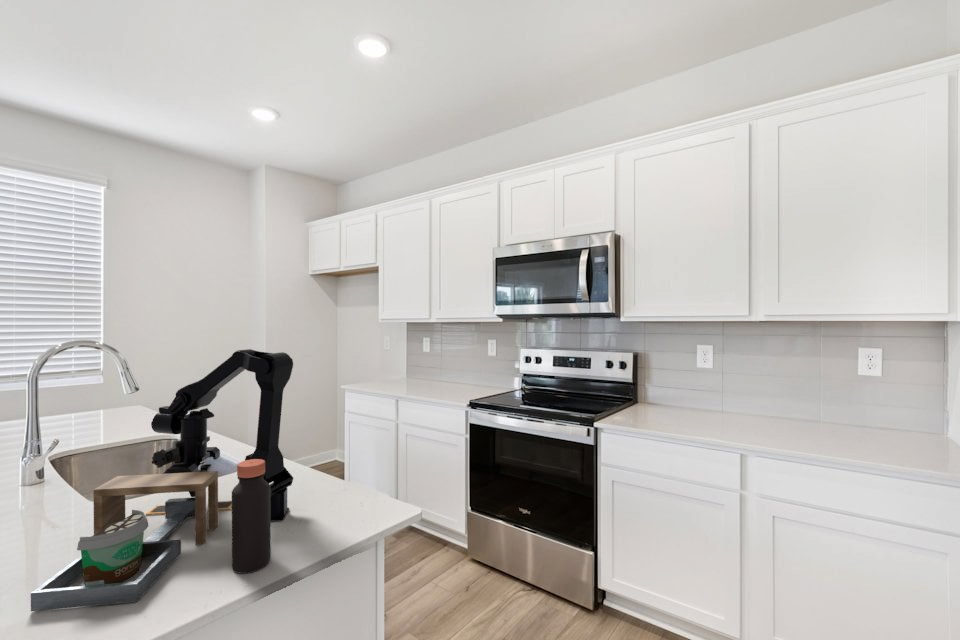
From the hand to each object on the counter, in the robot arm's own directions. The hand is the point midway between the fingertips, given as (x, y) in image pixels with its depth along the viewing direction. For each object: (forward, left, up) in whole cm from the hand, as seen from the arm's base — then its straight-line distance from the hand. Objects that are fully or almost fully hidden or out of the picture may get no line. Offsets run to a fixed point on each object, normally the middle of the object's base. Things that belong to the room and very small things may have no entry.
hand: (193, 496), depth 116 cm
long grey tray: (0, +23, -2) cm, 23 cm away
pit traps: (0, +1, -3) cm, 3 cm away
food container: (-1, +31, -3) cm, 32 cm away
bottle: (-23, +31, -3) cm, 39 cm away
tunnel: (0, +17, -3) cm, 17 cm away
